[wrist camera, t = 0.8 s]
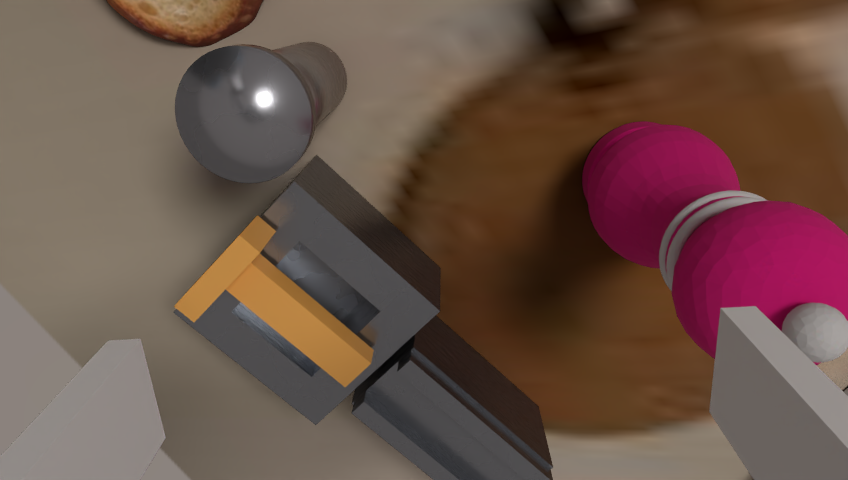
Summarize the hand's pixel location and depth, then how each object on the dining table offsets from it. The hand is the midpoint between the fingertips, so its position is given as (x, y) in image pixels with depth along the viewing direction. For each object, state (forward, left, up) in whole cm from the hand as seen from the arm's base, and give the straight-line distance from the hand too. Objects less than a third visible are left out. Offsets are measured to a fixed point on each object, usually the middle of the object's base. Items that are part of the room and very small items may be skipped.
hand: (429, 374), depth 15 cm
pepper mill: (+9, +7, -24) cm, 27 cm away
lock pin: (-1, -10, -17) cm, 20 cm away
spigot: (-8, -2, -24) cm, 25 cm away
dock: (+6, -10, -24) cm, 26 cm away
